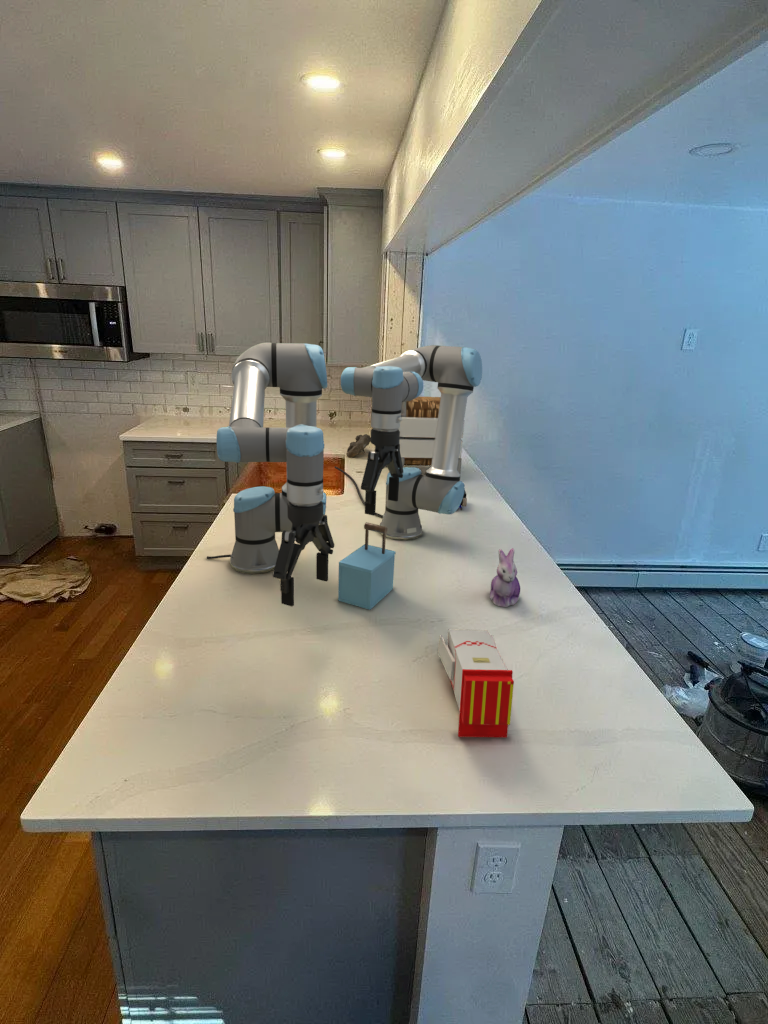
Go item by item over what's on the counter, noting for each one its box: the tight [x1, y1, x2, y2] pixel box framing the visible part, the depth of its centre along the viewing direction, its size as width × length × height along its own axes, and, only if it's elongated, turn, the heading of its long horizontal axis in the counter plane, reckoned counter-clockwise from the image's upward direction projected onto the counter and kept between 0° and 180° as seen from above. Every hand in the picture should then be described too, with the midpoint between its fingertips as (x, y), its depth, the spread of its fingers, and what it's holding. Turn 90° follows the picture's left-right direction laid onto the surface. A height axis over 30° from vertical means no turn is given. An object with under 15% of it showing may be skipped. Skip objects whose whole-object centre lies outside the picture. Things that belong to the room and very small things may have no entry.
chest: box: [337, 554, 396, 611], centre depth 155 cm, size 14×10×11 cm
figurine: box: [489, 547, 521, 608], centre depth 154 cm, size 9×10×15 cm
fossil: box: [346, 433, 371, 458], centre depth 305 cm, size 22×10×15 cm
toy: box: [437, 628, 515, 738], centre depth 117 cm, size 12×13×30 cm
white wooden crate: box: [385, 396, 465, 475], centre depth 268 cm, size 34×33×41 cm
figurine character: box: [459, 490, 468, 511], centre depth 230 cm, size 7×8×15 cm
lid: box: [338, 521, 396, 573], centre depth 152 cm, size 14×10×9 cm
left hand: (305, 591), depth 126 cm, fingers open, 13 cm apart
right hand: (381, 507), depth 152 cm, fingers open, 13 cm apart
